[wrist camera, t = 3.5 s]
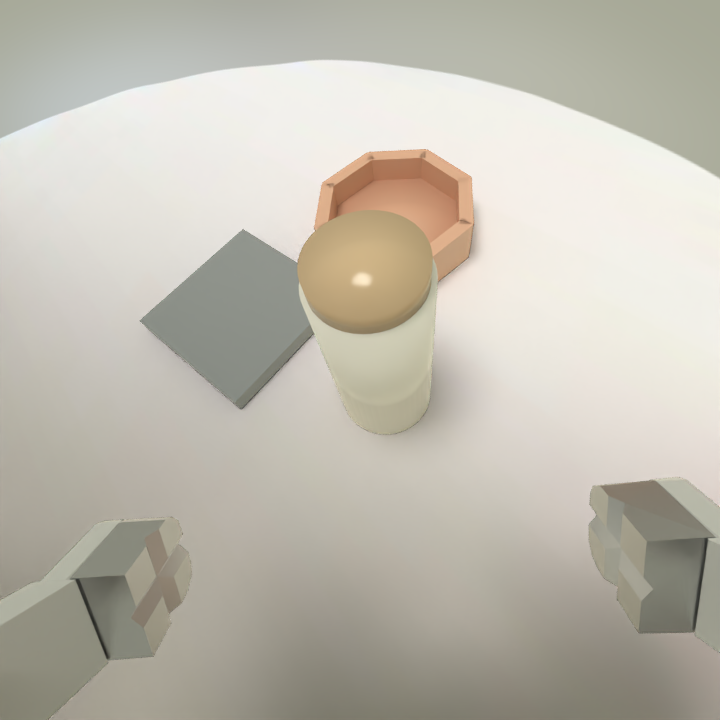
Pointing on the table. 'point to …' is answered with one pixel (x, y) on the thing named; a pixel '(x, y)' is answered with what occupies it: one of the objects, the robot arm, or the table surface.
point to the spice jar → (373, 314)
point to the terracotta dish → (408, 198)
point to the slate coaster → (235, 317)
